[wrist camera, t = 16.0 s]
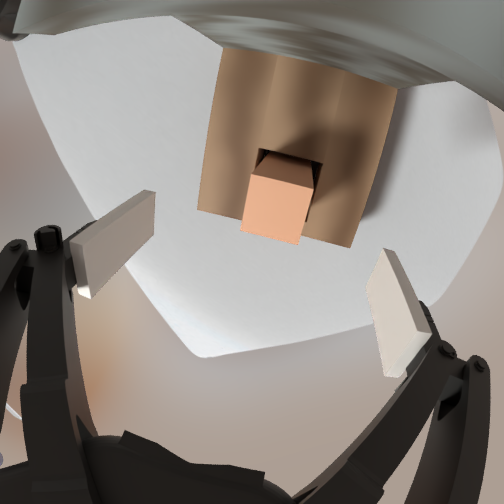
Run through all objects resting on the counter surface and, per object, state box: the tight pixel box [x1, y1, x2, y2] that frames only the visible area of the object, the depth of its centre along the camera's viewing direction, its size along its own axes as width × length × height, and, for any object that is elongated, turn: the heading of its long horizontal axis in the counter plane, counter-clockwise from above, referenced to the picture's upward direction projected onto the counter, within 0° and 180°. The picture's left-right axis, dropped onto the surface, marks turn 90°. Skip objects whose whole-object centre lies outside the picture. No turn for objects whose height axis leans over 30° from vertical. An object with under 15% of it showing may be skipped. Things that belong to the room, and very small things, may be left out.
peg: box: [240, 151, 314, 245], centre depth 26 cm, size 4×4×12 cm
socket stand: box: [13, 0, 504, 248], centre depth 17 cm, size 17×18×26 cm
